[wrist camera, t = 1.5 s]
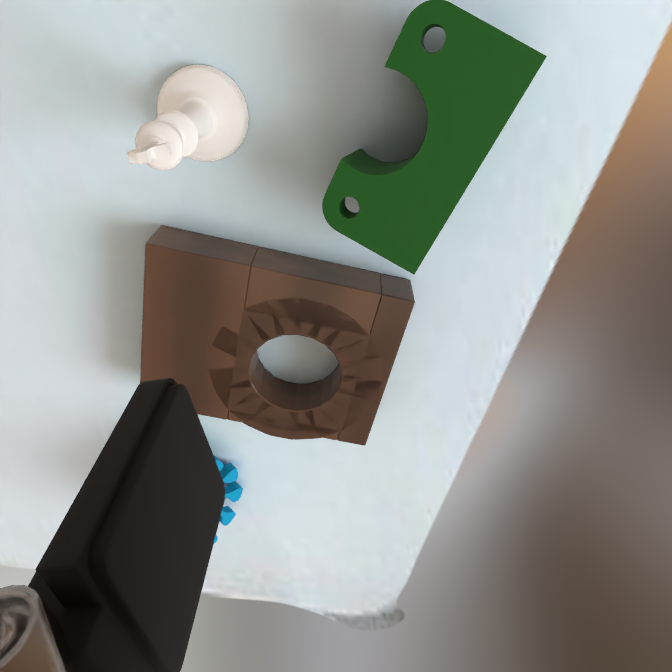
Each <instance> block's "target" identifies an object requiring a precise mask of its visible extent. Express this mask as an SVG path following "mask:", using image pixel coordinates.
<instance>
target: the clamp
mask: <svg viewBox="0 0 672 672" xmlns="http://www.w3.org/2000/svg"><path fill="white" fill-rule="evenodd" d="M433 27H441V28H443V29H444V30H445V33H446V41H445V44H444V46H443V48H442V49H441V50H440V51H438V52H436V53H428V52H427V51H426V49H425V48H424V44H423V40H424V36H425V34H426V32H427V31H428V30H429V29H431V28H433ZM546 57H547V56H545V55H543V54H542V53H540V52H538V51H536V50H534V49H533V48H531V47H529V46H527V45H525V44H524V43H522V42H520V41H518V40H516V39H515V38H513V37H511V36H509V35H507V34H506V33H504V32H502V31H500V30H499V29H497V28H495V27H493V26H491V25H490V24H488V23H486V22H484V21H482V20H481V19H479V18H477V17H475V16H473V15H472V14H470V13H468V12H466V11H464V10H463V9H461V8H459V7H457V6H455V5H454V4H452V3H450V2H448V1H445V0H429V1H426V2H424V3H422V4H420V5H419V6H417V7H416V8H415V9H414V10H413V11H412V12H411V14H410V15H409V16H408V18H407V20H406V22H405V24H404V26H403V28H402V30H401V32H400V35H399V37H398V39H397V41H396V43H395V45H394V47H393V50H392V52H391V54H390V56H389V58H388V60H387V62H386V65H385V67H386V68H391V69H394V70H397V71H399V72H401V73H402V74H404V75H406V76H407V77H408V78H409V79H410V80H412V81H413V82H414V84H415V85H416V86H417V87H418V89H419V91H420V92H421V94H422V96H423V99H424V101H425V105H426V108H427V117H428V124H427V132H426V136H425V139H424V142H423V144H422V146H421V148H420V150H419V152H418V153H417V154H416V155H415V156H413V157H411V158H410V159H407V160H405V161H401V162H395V163H388V162H382V161H379V160H376V159H374V158H372V157H371V156H369V155H368V154H366V153H365V152H364V151H363V150H362V149H359V150H357V151H355V152H353V153H352V154H350V155H348V156H346V157H344V158H342V159H341V161H340V163H339V165H338V168H337V170H336V172H335V174H334V176H333V178H332V180H331V183H330V185H329V187H328V189H327V191H326V193H325V196H324V199H323V213H324V216H325V219H326V220H327V222H328V224H329V225H330V226H331V227H332V228H333V229H335V230H336V231H338V232H340V233H341V234H343V235H345V236H347V237H348V238H350V239H352V240H354V241H356V242H357V243H359V244H361V245H363V246H364V247H366V248H368V249H370V250H371V251H373V252H375V253H377V254H379V255H380V256H382V257H384V258H386V259H387V260H389V261H391V262H393V263H394V264H396V265H398V266H400V267H402V268H403V269H405V270H407V271H409V272H410V273H412V274H415V272H416V271H417V269H418V267H419V266H420V264H421V262H422V261H423V259H424V257H425V256H426V254H427V252H428V251H429V249H430V248H431V246H432V244H433V243H434V241H435V239H436V238H437V236H438V234H439V233H440V231H441V229H442V228H443V226H444V224H445V223H446V221H447V220H448V218H449V216H450V215H451V213H452V211H453V210H454V208H455V206H456V205H457V203H458V201H459V200H460V198H461V196H462V195H463V193H464V192H465V190H466V188H467V187H468V185H469V183H470V182H471V180H472V178H473V177H474V175H475V173H476V172H477V170H478V168H479V167H480V165H481V164H482V162H483V160H484V159H485V157H486V155H487V154H488V152H489V150H490V149H491V147H492V145H493V144H494V142H495V140H496V139H497V137H498V136H499V134H500V132H501V131H502V129H503V127H504V126H505V124H506V122H507V121H508V119H509V117H510V116H511V114H512V113H513V111H514V109H515V108H516V106H517V104H518V103H519V101H520V99H521V98H522V96H523V94H524V93H525V91H526V89H527V88H528V86H529V85H530V83H531V81H532V80H533V78H534V76H535V75H536V73H537V71H538V70H539V68H540V66H541V65H542V63H543V61H544V60H545V58H546ZM346 197H353V198H355V199H356V200H357V201H358V203H359V206H360V210H359V212H357V213H353V212H351V211H349V210H348V209H347V208H346V206H345V198H346Z"/></svg>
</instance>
